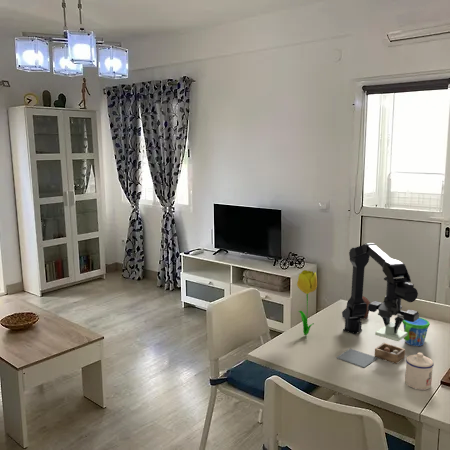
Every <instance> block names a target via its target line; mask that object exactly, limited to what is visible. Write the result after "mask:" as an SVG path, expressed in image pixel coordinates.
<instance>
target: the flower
mask: <svg viewBox="0 0 450 450" xmlns="http://www.w3.org/2000/svg"><path fill="white" fill-rule="evenodd" d="M296 285H297V288H298V289H299V290H300V291H301V292H302V293H303V294H306V312H308V309H309V308H308V305H309V304H308V300H309V294H310V293H313V292H315V291H316V290H317V287H318V277H317V272H316V271H315V272H314V271H311V270H306V269H304V270H302V271H301V272H300V273H299V274H298V277H297V283H296ZM298 313H300V316H301V320H302V321H301V322H302V327H303V329H302V332H303V335H304V336H307V335H309V333H310V329H311V326H312V325H314V324H315V323H314V322H313V323H311V324H310V325H309V324H308V317H307V314H305V313H304V311H302V310H298Z"/></svg>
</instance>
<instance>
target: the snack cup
mask: <svg viewBox="0 0 450 450" xmlns="http://www.w3.org/2000/svg"><path fill="white" fill-rule="evenodd" d="M402 325H403V331H404V332H407V336H406V337H404V338H403V340H405V343H406V344H407V345H409V346H413V347H421V346H423V345H424V344H425V341H426V337H427V333H428V328H429V327H430V322H429V321H428V320H427V319H425V318H424V317H419V319H417V320H416V321H414V322H410V321H406V320H403V321H402Z"/></svg>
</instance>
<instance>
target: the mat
mask: <svg viewBox="0 0 450 450" xmlns="http://www.w3.org/2000/svg"><path fill="white" fill-rule="evenodd" d="M336 359H339V360H341V361H342V362H343V361H344V362H346V363H350V364H352V365H354V366H355V365H356V366H357V367H361V368H363V369H365V368H367V367H368V366H369V365H370V364H372V363H374V362H375V361H376V360H378V359H379V358H378V357H375V355H371V354H368V353H365V352H362V351H359V350H356V349H353V348H348V349H347V350H346V351H344V352H342V353H341V354H340V355H338V356H336Z"/></svg>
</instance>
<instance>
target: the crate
mask: <svg viewBox="0 0 450 450" xmlns="http://www.w3.org/2000/svg"><path fill="white" fill-rule="evenodd" d="M374 356H375V357H378V358H377V359H380V360H383V361H386V362H389V363H392V364H395V365H397V364H398V363H399V362H401V361H402V360H404V358H405V359H406V348H403V347H400V346H397V345H393V344H389V343H387V342H382V343H381V344H379V345H378V346H377V347H375V348H374Z"/></svg>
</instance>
